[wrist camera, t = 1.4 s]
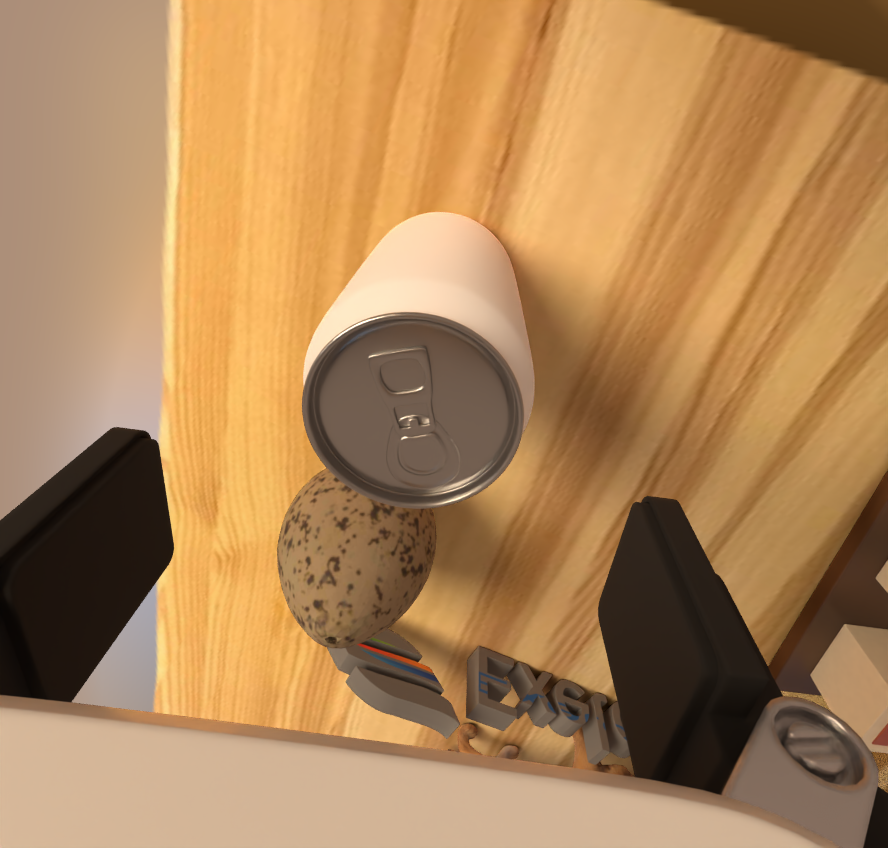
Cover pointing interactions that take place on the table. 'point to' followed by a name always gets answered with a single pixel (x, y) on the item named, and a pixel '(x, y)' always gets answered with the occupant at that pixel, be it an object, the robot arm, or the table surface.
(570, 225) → the table surface
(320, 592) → the decorative egg
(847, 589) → the word board
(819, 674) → the equals sign block
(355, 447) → the can
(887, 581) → the plus sign block
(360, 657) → the extruded letter logo
